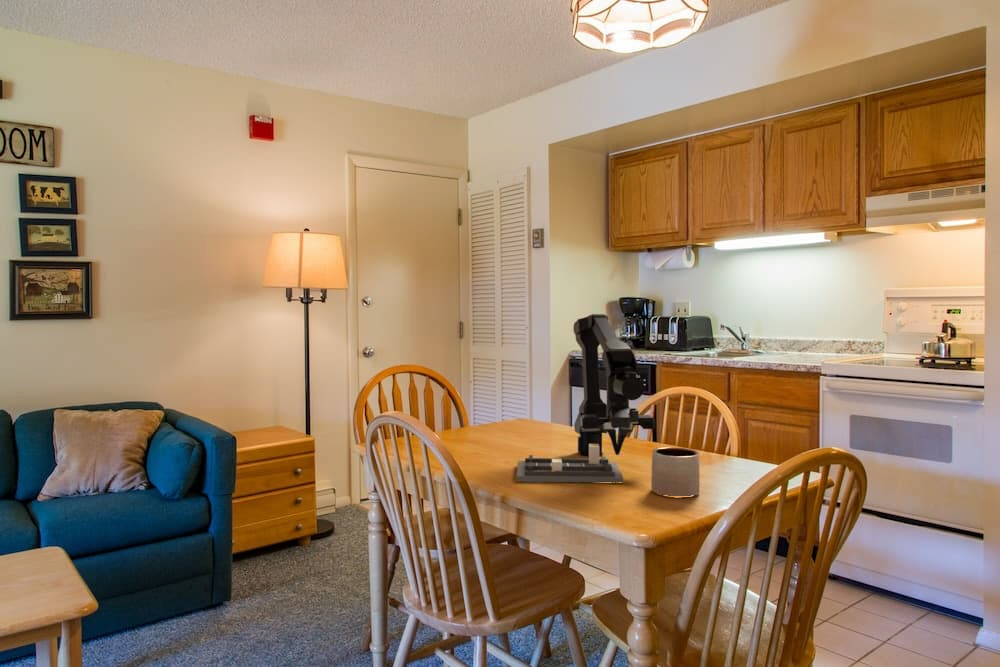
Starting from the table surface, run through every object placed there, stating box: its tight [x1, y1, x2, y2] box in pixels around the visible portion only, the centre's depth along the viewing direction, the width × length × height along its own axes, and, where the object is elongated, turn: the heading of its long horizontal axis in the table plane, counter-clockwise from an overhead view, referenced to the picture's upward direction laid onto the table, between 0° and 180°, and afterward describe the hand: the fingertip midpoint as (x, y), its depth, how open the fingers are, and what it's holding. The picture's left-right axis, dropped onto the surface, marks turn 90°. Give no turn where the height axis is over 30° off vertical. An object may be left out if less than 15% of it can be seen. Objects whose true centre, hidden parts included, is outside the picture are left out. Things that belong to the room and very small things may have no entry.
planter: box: [650, 446, 701, 496], centre depth 157 cm, size 11×11×10 cm
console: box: [516, 454, 624, 484], centre depth 174 cm, size 26×16×4 cm, turn 87°
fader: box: [588, 444, 600, 464], centre depth 177 cm, size 2×4×5 cm, turn 177°
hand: (617, 454), depth 177 cm, fingers closed
